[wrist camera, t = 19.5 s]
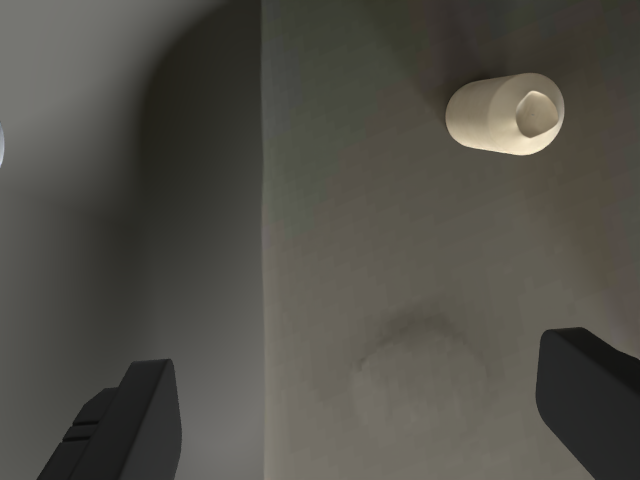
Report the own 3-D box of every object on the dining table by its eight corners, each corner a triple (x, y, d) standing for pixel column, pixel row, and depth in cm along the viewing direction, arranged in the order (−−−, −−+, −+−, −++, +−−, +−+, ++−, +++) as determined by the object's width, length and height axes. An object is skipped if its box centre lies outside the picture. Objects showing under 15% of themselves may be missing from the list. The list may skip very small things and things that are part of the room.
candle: (517, 96, 41) (592, 91, 32) (488, 156, 42) (552, 169, 33) (461, 70, 40) (522, 56, 31) (433, 132, 41) (483, 138, 32)
